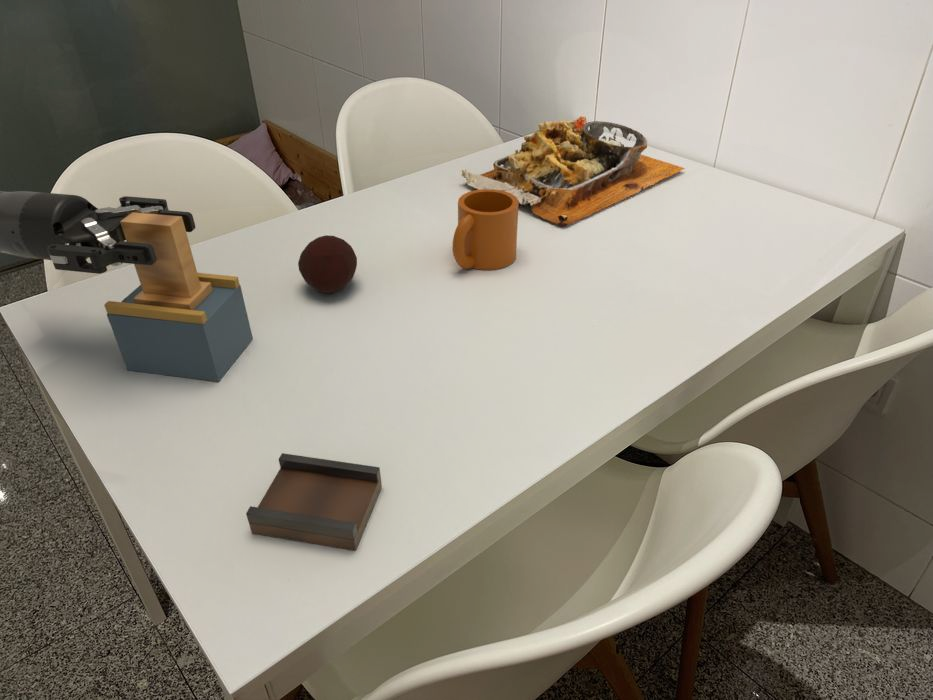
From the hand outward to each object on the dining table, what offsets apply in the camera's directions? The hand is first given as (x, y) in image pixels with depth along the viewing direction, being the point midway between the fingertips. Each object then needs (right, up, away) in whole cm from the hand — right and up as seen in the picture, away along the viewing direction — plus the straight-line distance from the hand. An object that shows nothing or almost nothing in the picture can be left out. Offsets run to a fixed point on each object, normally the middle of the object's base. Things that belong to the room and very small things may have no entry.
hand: (173, 237), depth 76 cm
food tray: (+52, +19, +54) cm, 77 cm away
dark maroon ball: (+13, -4, +23) cm, 26 cm away
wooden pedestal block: (-2, -6, +5) cm, 8 cm away
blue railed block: (-2, -13, +10) cm, 16 cm away
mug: (+34, +1, +29) cm, 45 cm away
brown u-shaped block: (+18, -27, -11) cm, 35 cm away
